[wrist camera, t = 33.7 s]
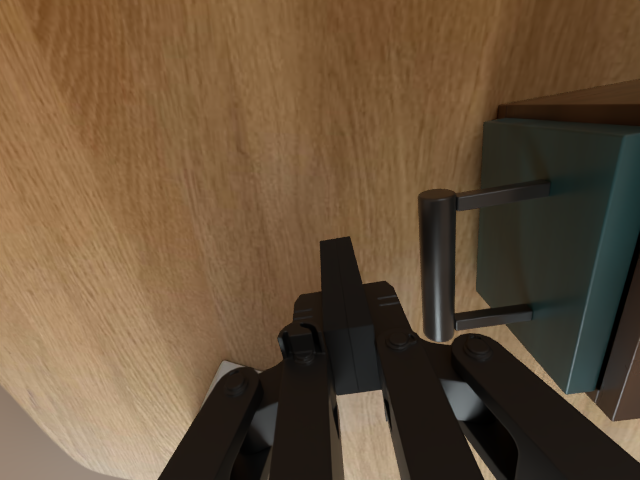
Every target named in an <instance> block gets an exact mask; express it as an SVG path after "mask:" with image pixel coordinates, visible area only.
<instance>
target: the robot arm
mask: <svg viewBox="0 0 640 480" xmlns="http://www.w3.org/2000/svg"><path fill="white" fill-rule="evenodd" d="M320 259H321V287H322V292H315V293H309V294H302V295H300V296H299V297H298V299H297V300H296V302H295V304H294V314H293V322H292V323H291V324H289V325H287V326H285V327H284V328H283V329H282V330H281V331H280V333H279V335H278V338H277V339H278V342H279V346H280V349H281V352H282V356H283V361H282V362H280V363H279V364H278V365H276V366H274V367H272V368H270V369H268V370H266V371H263V372H261V373H259V374H258V372H257V371H255V370H254V369H253V368H250V367H238V368H236V369H233V370H231V371H229V372H228V373H226V374H225V375H223V376H222V377H221V378H220V380H219V381H218V382H217V383H216V385H215V386H214V388H213V390H212V391H211V393H210V395H209V396H208V398H207V400H206V401H205V403H204V404H203V406H202V408H201V409H200V411H199V413H198V414H197V416H196V418H195V419H194V421H193V423H192V424H191V426H190V427H189V429H188V431H187V432H186V434H185V436H184V437H183V439H182V441H181V442H180V444H179V445H178V447H177V449H176V450H175V452H174V454H173V455H172V457H171V459H170V460H169V462H168V463H167V465H166V467H165V468H164V470H163V472H162V473H161V475H160V477H159V478H158V480H267V479H268V476H269V480H344V469H343V456H342V444H341V432H340V419H339V410H338V405H337V400H336V394H337V395H345V394H352V393H359V392H367V391H374V390H382V393H383V400H384V408H385V416H386V421H388V424H389V429H390V433H391V437H392V442H393V446H394V450H395V455H396V459H397V464H398V468H399V472H400V477H401V480H484V478H483V476H482V474H481V471H480V469H479V467H478V465H477V462H476V460H475V458H474V456H473V454H472V451H471V449H470V447H469V445H468V442H467V440H466V438H467V439H468V441H469V442H470V443H471V445H472V446H473V448H474V449H475V450H476V452H477V453H478V454H479V456H480V457H481V459H482V460H483V461H484V463H485V464H486V466H487V467H488V468H489V470H490V471H491V472H492V474H493V475H494V477H495V478H496V479H497V480H640V463H639V462H638V461H637V460H635V459H634V458H633V457H632V456H631V455H630V454H628V453H627V452H626V451H625V450H624V449H622V448H621V447H620V446H619V445H618V444H617V443H615V442H614V441H613V440H612V439H611V438H610V437H608V436H607V435H606V434H605V433H604V432H603V431H601V430H600V429H599V428H598V427H597V426H595V425H594V424H593V423H592V422H591V421H590V420H588V419H587V418H586V417H585V416H584V415H583V414H581V413H580V412H579V411H578V410H577V409H576V408H574V407H573V406H572V405H571V404H570V403H568V402H567V401H566V400H565V399H564V398H563V397H561V396H560V395H559V394H558V393H557V392H556V391H554V390H553V389H552V388H551V387H550V386H549V385H547V384H546V383H545V382H544V381H543V380H541V379H540V378H539V377H538V376H537V375H536V374H534V373H533V372H532V371H531V370H530V369H529V368H527V367H526V366H525V365H524V364H523V363H522V362H520V361H519V360H518V359H517V358H516V357H514V356H513V355H512V354H511V353H510V352H509V351H507V350H506V349H505V348H504V347H503V346H502V345H500V344H499V343H498V342H496V341H495V340H493V339H492V338H490V337H487V336H484V335H481V334H473V333H468V334H463V335H460V336H458V337H457V338H455V339H454V341H453V342H452V344H451V345H444V344H436V343H431V342H428V341H425V340H423V339H421V338H420V337H419V336H418V335H417V333H415V332H414V331H412V329H411V327H410V325H409V322H408V320H407V318H406V315H405V313H404V311H403V308H402V306H401V304H400V301H399V299H398V297H397V294H396V292H395V290H394V288H393V286H391V285H390V284H389V283H387V282H386V281H381V282H374V283H368V284H362V280H361V276H360V273H359V269H358V265H357V261H356V258H355V254H354V250H353V246H352V243H351V239H350V236H348V237H342V238H336V239H330V240H324V241H320ZM381 388H382V389H381ZM464 435H465V436H466V438H465V436H464ZM269 473H270V474H269Z"/></svg>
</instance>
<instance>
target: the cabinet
mask: <svg viewBox="0 0 640 480" xmlns="http://www.w3.org/2000/svg"><path fill="white" fill-rule="evenodd" d="M502 118H518V119H534V120H550V121H566V122H581V123H597V124H613V125H629V126H640V79H638V80H632V81H627V82H621V83H616V84H610V85H605V86H599V87H594V88H588V89H583V90H577V91H572V92H566V93H561V94H555V95H550V96H544V97H539V98H533V99H528V100H522V101H517V102H511V103H506V104H501V105H499V108H498V119H502ZM585 393H586V394H587V395H588V396H589V397H590V399H591V400H592V401H593V402H594V403H596V405H597V406H598V407H599V408H600V409H601V410H602V411H603V412H604V414H605V415H606V416H607V417H608V418H609V419H610V420H611V421H621V420H630V419H638V418H640V253H639V257H638V260H637V264H636V267H635V270H634V274H633V277H632V281H631V284H630V288H629V291H628V295H627V298H626V301H625V305H624V308H623V312H622V315H621V319H620V322H619V326H618V329H617V332H616V336H615V339H614V343H613V346H612V350H611V353H610V354H608V353H607V352H605V356H604V360H603V363H602V367H601V370H600V374H599V377H598V381H597V384H596V388H595V391H592V392H585Z"/></svg>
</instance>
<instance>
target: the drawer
mask: <svg viewBox="0 0 640 480" xmlns="http://www.w3.org/2000/svg"><path fill="white" fill-rule="evenodd" d="M476 208H480V211H479V233H478V255H477V277H476V291H477V292H478V293H479V295H480V296H481V297H482V298H483V299H484V300H485V302H486V303H487V304H488V305H489V306H490V307H491V308H489V309H482V310H475V311H468V312H461V313H455V240H456V210H457V211H464V210H470V209H476ZM418 216H419V240H420V265H421V289H422V313H423V332H424V334H425V336H426V337H427V338H429V339H430V340H432V341H435V342H446V341H449V340H451V339H452V338H453V336H454V328H455V330H456V331H459V330H466V329H473V328H480V327H487V326H495V325H502V324H505V325H506V326H507V327H508V328H509V329H510V331H511V332H512V333H513V334H514V335H515V336H516V338H517V339H518V340H519V341H520V342H521V343H522V344H523V346H524V347H525V348H526V349H527V350H528V351H529V353H530V354H531V355H532V356H533V357H534V358H535V360H536V361H537V362H538V363H539V364H540V365H541V367H542V368H543V369H544V370H545V371H546V372H547V374H548V375H549V376H550V377H551V378H552V379H553V380H554V382H555V383H556V384H557V385H558V386H559V387H560V389H561V390H562V391H563V392H564V393H565V394H575V393H583V392H592V391H595V388H596V384H597V381H598V377H599V374H600V370H601V367H602V363H603V360H604V356H605V352H607V353H608V354H610V353H611V350H612V346H613V343H614V339H615V336H616V332H617V329H618V326H619V322H620V319H621V315H622V312H623V308H624V305H625V301H626V298H627V295H628V291H629V288H630V284H631V281H632V277H633V274H634V270H635V267H636V264H637V263H635V262H633V261H631V260H632V257H633V253H634V249H635V246H636V242H637V239H638V235H639V232H640V126H629V125H613V124H597V123H581V122H566V121H550V120H534V119H518V118H502V119H497V120H491V121H485V122H484V124H483V146H482V168H481V189H479V190H473V191H467V192H461V193H455V192H454V191H452V190H448V189H432V190H427V191H424V192H422V193H420V194H419V195H418Z"/></svg>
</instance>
